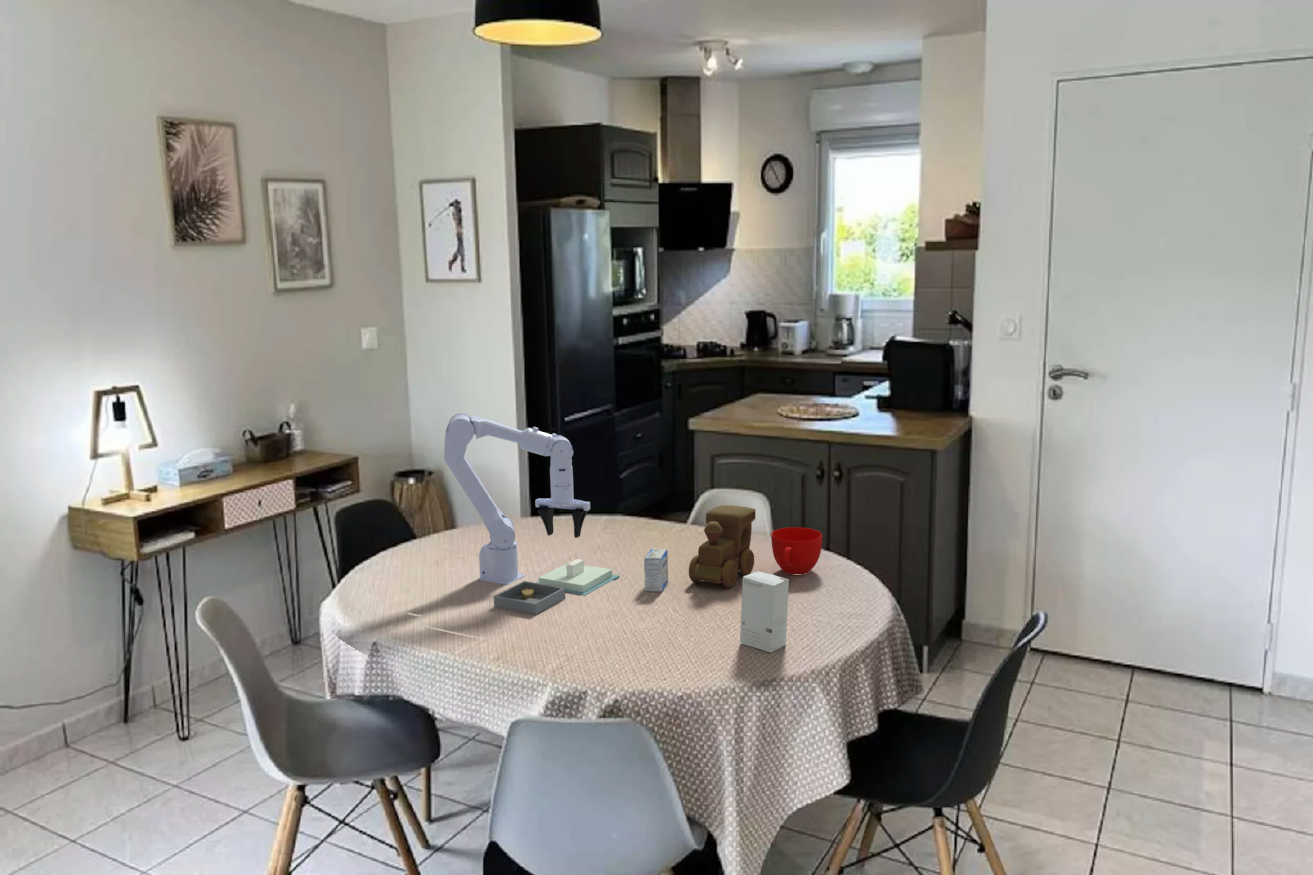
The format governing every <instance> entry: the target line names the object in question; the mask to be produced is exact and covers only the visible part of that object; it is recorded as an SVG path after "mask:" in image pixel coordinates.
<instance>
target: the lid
mask: <svg viewBox="0 0 1313 875" xmlns="http://www.w3.org/2000/svg"><path fill="white" fill-rule="evenodd" d="M612 574H613V569H611V568H603V567H598V566H592V565H585V560H584V559H581V558H577V559H574V560H572V561H571V562H567V563H565V564H563V565H560V566H559V567H557V568H555V569H553V570H550V571H549V572H547V573H544V574H542V575H541V576H539V577H538V578H537V579H538V581H537V582H539V584H544V585H550V586H556V587H561V588H565V589H567V590H572V591H578V592H585V591H587V590H589V589H591V588H593V587H594V586H596V585H598V584H600V583H601V582H603V581H605V580H607V579H608V578H610V577H612Z"/></svg>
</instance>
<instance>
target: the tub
mask: <svg viewBox="0 0 1313 875" xmlns="http://www.w3.org/2000/svg"><path fill="white" fill-rule="evenodd" d="M524 588H533V589H534V598H533V599H538V600H539V601H537V602H535V603H533V602H528V601H525V600H524V599H522V593H521V590H522V589H524ZM564 600H566V592H565V588H561V587H556V586H550V585H544V584H539V583H537V582H533V581H526V580H524V581H521V582H520V583H518V584H517V583H516V584H515V585H514V586H511V587H509V588H508V589H506V590H503V591H501V592H499V593H497V594H495V595H494V596H493V607H494V608H497V609H503V610H508V611H513V612H519V613H523V614H529V615H533V616H537V615H538V614H540V613H543V612H544V611H547V610H548V609H549V608H552V607H553V606H554V605H557V604H558V603H561V602H563V601H564Z"/></svg>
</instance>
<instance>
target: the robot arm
mask: <svg viewBox="0 0 1313 875" xmlns="http://www.w3.org/2000/svg"><path fill="white" fill-rule="evenodd" d="M474 436H475V439H476V440H477V439H481V438H483V437H486V436H489V437H494V438H497V439H501V440H505V441H508V442H513V443H516V444H518V445H519V447H520V449H521V450H523V451H527V452H529V453H533V454H537V455H540V456H543V457H550V466H549V478H550V480H549V481H550V498H541V497H540V498H537V499H535V502H534V504H535V508H538V510H537V513H538V516H539V517H540V519H541V520H542V522H543V523H542V524H543V525H544V527H545V532H546V533H547V536H548V537H549V536H551V535H553V534H554V514H555V512H554V511H555V509H566V510H573V511H571V516H572V522H573V535H574V538H575V539H577V538H580V537H581V533H582V532H581V531H582V528H583V524H584V521H585V518H586V516H587V514H588V512H589V511H590V510H591V502H590V501H584V500H581V499H576V498H575V499H574V474H573V473H574V471H573V465H572V463H573V459H572V457H573V456H574V450H573V446H572V444H571V442H570V440H569V439H568V438H566V436H565V437H564V436H563V435H561V434H560V435H559V434H557V433H554V432H553V433H552V434H550V433H549V432H545V431H544V432H543V431H541V430H539V427H536V426H533V427H527V428H525V429H523V430H520V429H517V428H514V427H511V426H508V425H505V424H503V423H499V422H497V421H494V420H491V419H488V418H484V417H480V416H477V415H469V414H467V413H462V412H460V413H457V414H454V415H453V416H451V417H450V419H449V421H448V424H447V426H446V430H445V436H444V450H443V459H444V462H445V463H446V465H447V466H448V468H449V469H450V471H451V473H452V474H453V476H454V477H455V478H456V481H457V482H458V484H459V485H460V487H461V488H462V490H463V491H464V493H465V494H466V496H467V497H468V499H469V501H470V502H471V503H472V505H473V507H474V508H475V510H476V512H477V513H478V515H479V516H480V518H481V519H482V521H483V524H484V526H485V528H486V529H487V531H488V533H489V539H490V541H489V542H487V543H485V544H483V545H482V546H481V548H480V550H479V556H478V561H479V562H478V564H479V577H478V580H479V581H484V582H488V583H489V582H490V583H495V584H496V583H497V584H502V585H510V584H511V583H512V584H513V582H516V581H518V580H520V579H522V578H524V577H526V576H527V575H526V573H525V574H524V573H519V562H518V561H519V558H518V543H517V541H516V532H515V525H514V522H513V521H512V519H511V518H510V517H508V516H507V515H505V514H504V513H503V512H502V510H501V509H500V508H499V507H498V506H497V504H496V502H495V501H494V499H493V498H492V496H491V495H490V494H489V492H488V490H487V488H486V487H485V486H484V484H483V482H482V481H481V479H480V478H479V476H478V475H477V473H476V472H475V470H474V468H473V467H472V465H471V464H470V462H469V461H468V459H467V458H466V456H465V454H466V451H467V448H468V447H467V446H469V444H470V443H471V441H472V440H473V438H474Z"/></svg>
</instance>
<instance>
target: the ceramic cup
mask: <svg viewBox="0 0 1313 875" xmlns="http://www.w3.org/2000/svg"><path fill="white" fill-rule="evenodd" d="M770 537H771V549H772V550H771V551H772V555H773V557H774V560H775V562H776V564H777V565H778V566H779V567H780V569H781V570H782V571H783V573H784V572H786V573H789V574H805V573H808V572H809V571H812V570H813V569H814V567H815V566H816V564H817V563H818V561H819V558H820V556H821V551H822V546H823V545H822V544H823V534H822V532H821V531H819V530H817V529H814V528H808V527H800V526H799V527H797V526H794V527H792V526H791V527H782V528H778V529H775V530H773V531H772V532H771V534H770ZM786 573H785V574H786ZM809 573H810V572H809ZM809 573H808V574H809ZM789 574H788V575H789ZM805 575H806V574H805Z"/></svg>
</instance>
